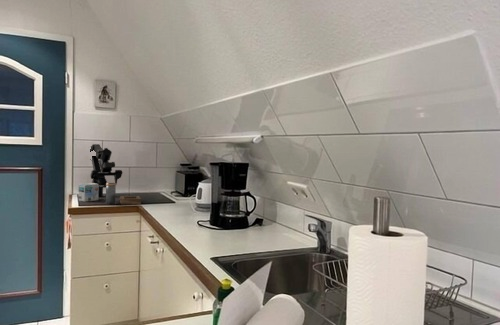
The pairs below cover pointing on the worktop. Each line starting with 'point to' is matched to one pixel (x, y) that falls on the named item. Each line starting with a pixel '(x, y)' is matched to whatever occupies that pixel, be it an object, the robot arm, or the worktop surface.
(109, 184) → the canister
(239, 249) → the worktop surface
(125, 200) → the holder
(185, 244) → the worktop surface
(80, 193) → the light bulb box
